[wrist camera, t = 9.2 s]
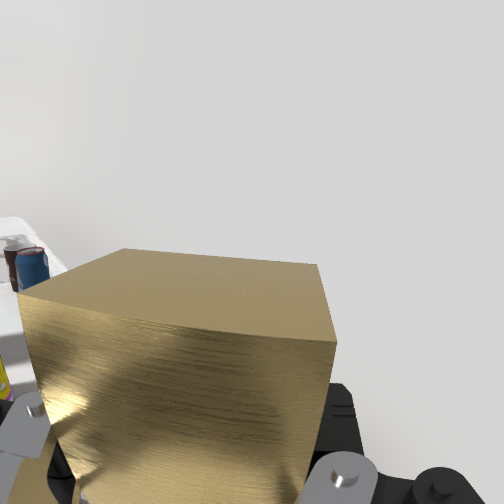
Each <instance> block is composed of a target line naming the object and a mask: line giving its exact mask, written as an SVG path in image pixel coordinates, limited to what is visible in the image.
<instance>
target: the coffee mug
mask: <svg viewBox="0 0 504 504" xmlns="http://www.w3.org/2000/svg"><path fill="white" fill-rule="evenodd" d="M28 247H36V244H34V243H18V244H12V245H8V246H6V247H4V254H5V259H6V263H7V268H8V272H9V277H10V281H11V285H12V289H13V291H14V292H19V288H18V281H17V274H16V265H15V260H16V256H17V251H18V250H20V249H23V248H28Z"/></svg>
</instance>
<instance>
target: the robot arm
mask: <svg viewBox="0 0 504 504" xmlns="http://www.w3.org/2000/svg"><path fill="white" fill-rule="evenodd" d="M80 495H81V488H80V486H79V484H78V482H77V480H76V478H75V476H74V474H73V472H72V470H71V468H70V466H69V464H68V462H67V460H66V458H65V455H64V453H63V451H62V449H61V446H60V444H59V442H58V439H57V436H56V434H55V431H54V429H53V426H52V424H51V422H50V419H49V416H48V413H47V411H46V408H45V405H44V402H43V399H42V396H41V393H40V391H32V392H28V393H25V394H23V395H21V396H20V397H18V398H17V399H16V400H15V402H13V401H8V400H3V399H0V504H79V501H80ZM294 504H485V503H484V502H483V500H482V499H481V498H480V497H479V495H478V494H477V493H476V491H475V490H474V489H473V487H472V486H471V485H470V484H469V483H468V481H467V480H466V479H465V477H464V476H463V475H461V474H460V473H459V472H457V471H455V470H453V469H450V468H445V467H435V468H431V469H428V470H425V471H423V472H422V473H421V474H419V475H418V476H417V478H416V479H415V480H409V479H402V478H396V477H391V476H386V475H384V474H381V473H380V472H378V471H377V469H376V467H375V465H374V464H373V463H372V462H371V461H370V460H369V459H367V458H366V457H365V456H364V452H363V447H362V442H361V437H360V432H359V427H358V423H357V418H356V413H355V408H354V404H353V399H352V395H351V393H350V392H349V391H348V390H347V389H346V387H345V386H344V385H343V384H339V383H329V387H328V392H327V396H326V401H325V405H324V410H323V414H322V418H321V423H320V427H319V431H318V435H317V439H316V443H315V447H314V451H313V454H312V458H311V462H310V465H309V469H308V473H307V476H306V480H305V483H304V486H303V488H302V490H301V492H300V493H299V495H298V497H297V499H296V500H295V502H294Z"/></svg>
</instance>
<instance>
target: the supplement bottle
mask: <svg viewBox="0 0 504 504" xmlns="http://www.w3.org/2000/svg"><path fill="white" fill-rule="evenodd" d="M13 398H14V396H13V391H12V388H11V386H10V383H9V380H8V377H7V374H6V371H5V368H4V365H3V362H2V358H1V355H0V399H3V400H8V401H13Z"/></svg>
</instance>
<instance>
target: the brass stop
mask: <svg viewBox="0 0 504 504" xmlns="http://www.w3.org/2000/svg"><path fill="white" fill-rule="evenodd" d="M17 298H18V304H19V309H20V315H21V320H22V325H23V330H24V334H25V339H26V343H27V347H28V351H29V355H30V359H31V363H32V366H33V370H34V373H35V377H36V380H37V384H38V387H39V390H40V393H41V396H42V399H43V402H44V405H45V408H46V411H47V413H48V416H49V419H50V422H51V424H52V426H53V429H54V431H55V434H56V436H57V439H58V442H59V444H60V446H61V449H62V451H63V453H64V455H65V458H66V460H67V462H68V464H69V466H70V468H71V470H72V472H73V474H74V476H75V478H76V480H77V482H78V484H79V486H80V488H81V490H82V492H83V494H84V496H85V497H86V499H87V501H88V503H89V504H294V502H295V500H296V499H297V497H298V495H299V493H300V492H301V490H302V488H303V486H304V483H305V480H306V476H307V473H308V469H309V465H310V462H311V458H312V454H313V451H314V447H315V443H316V439H317V435H318V431H319V427H320V423H321V418H322V414H323V410H324V405H325V401H326V396H327V392H328V387H329V382H330V377H331V372H332V367H333V362H334V356H335V351H336V345H337V339H336V335H335V331H334V327H333V323H332V320H331V315H330V311H329V307H328V304H327V300H326V296H325V293H324V289H323V285H322V281H321V278H320V274H319V271H318V267H317V264H304V263H292V262H280V261H267V260H255V259H242V258H229V257H218V256H206V255H193V254H182V253H170V252H159V251H147V250H135V249H121V250H119V251H116V252H114V253H111V254H109V255H106V256H104V257H101V258H99V259H96V260H94V261H91V262H89V263H86V264H84V265H81V266H79V267H77V268H74V269H72V270H69V271H67V272H65V273H62V274H60V275H57V276H55V277H53V278H50V279H48V280H46V281H43V282H41V283H39V284H37V285H34V286H32V287H30V288H27V289H25V290H23V291H21V292H18V293H17Z"/></svg>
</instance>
